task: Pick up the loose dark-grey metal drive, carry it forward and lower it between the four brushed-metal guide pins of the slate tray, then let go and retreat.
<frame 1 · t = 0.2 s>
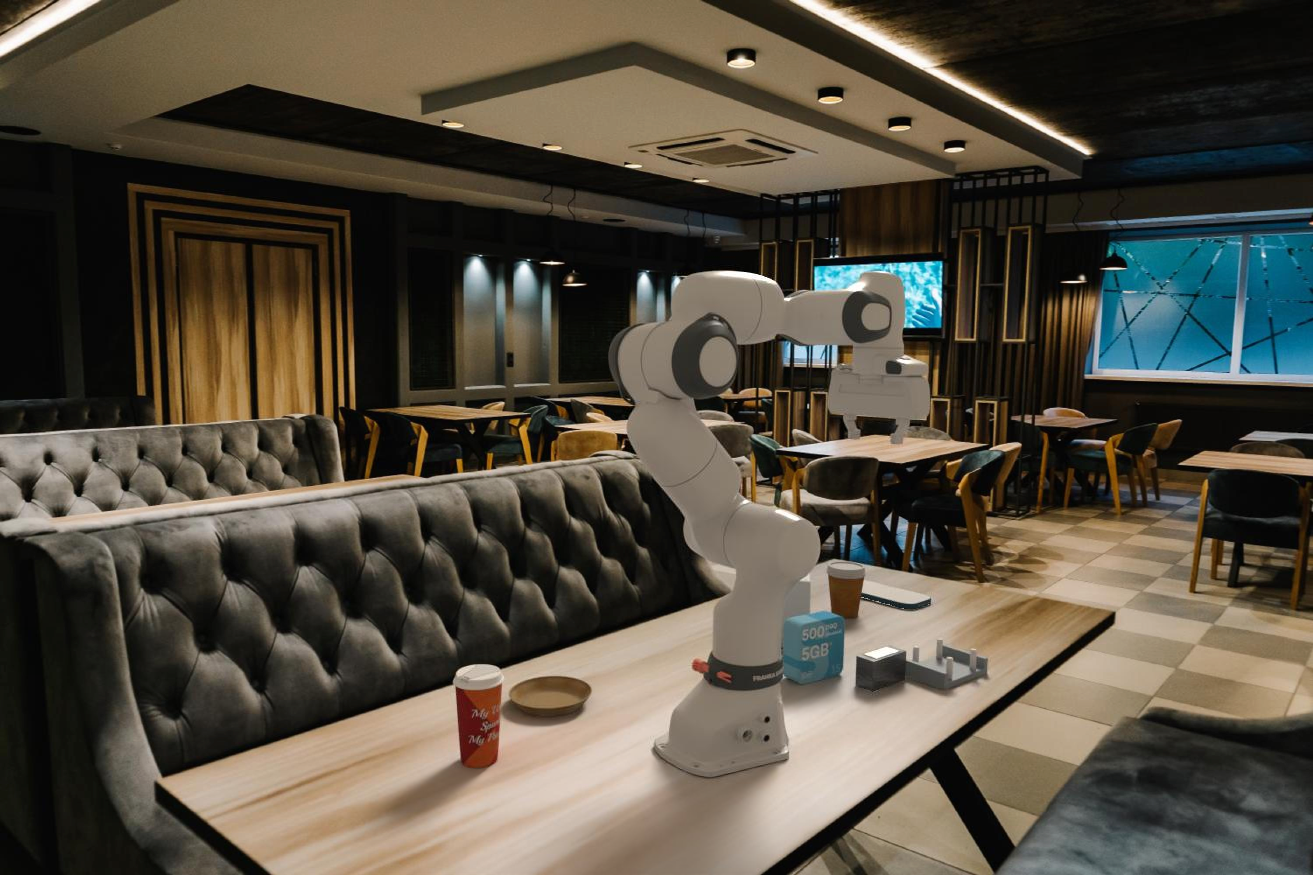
hand: (874, 441, 158), 47 cm above the table, tool pointing down, fingers open, 8 cm apart
supplement box: (788, 642, 192), on the table
tray: (943, 673, 174), on the table
white teal rounded slab: (882, 599, 228), on the table
drive: (880, 683, 169), on the table
plant saucer: (550, 705, 157), on the table
data package: (812, 677, 172), on the table
paper cup: (479, 760, 136), on the table
disposable coffee cup: (844, 614, 213), on the table
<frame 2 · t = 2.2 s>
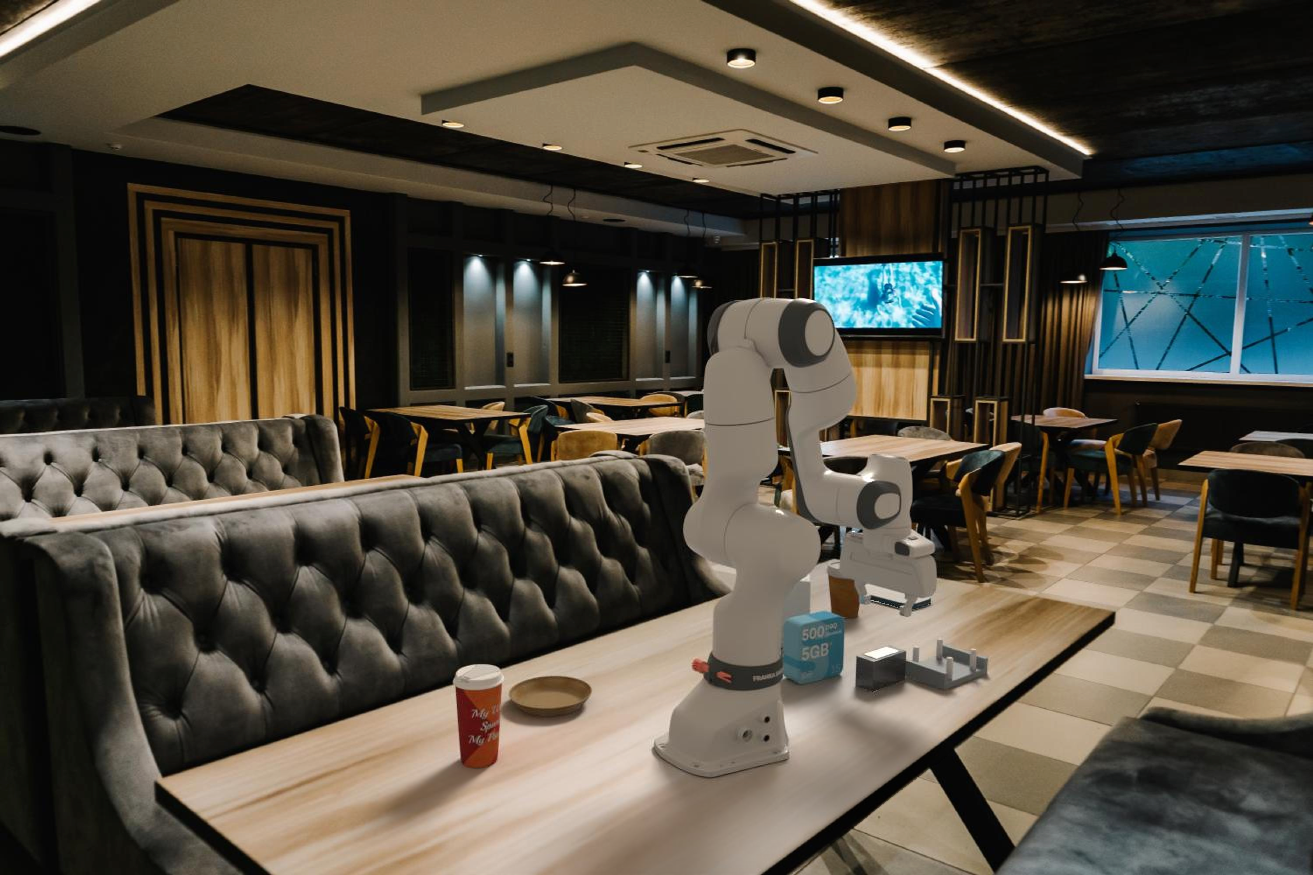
hand: (884, 609, 168), 14 cm above the table, tool pointing down, fingers open, 8 cm apart
nothing on the table moved.
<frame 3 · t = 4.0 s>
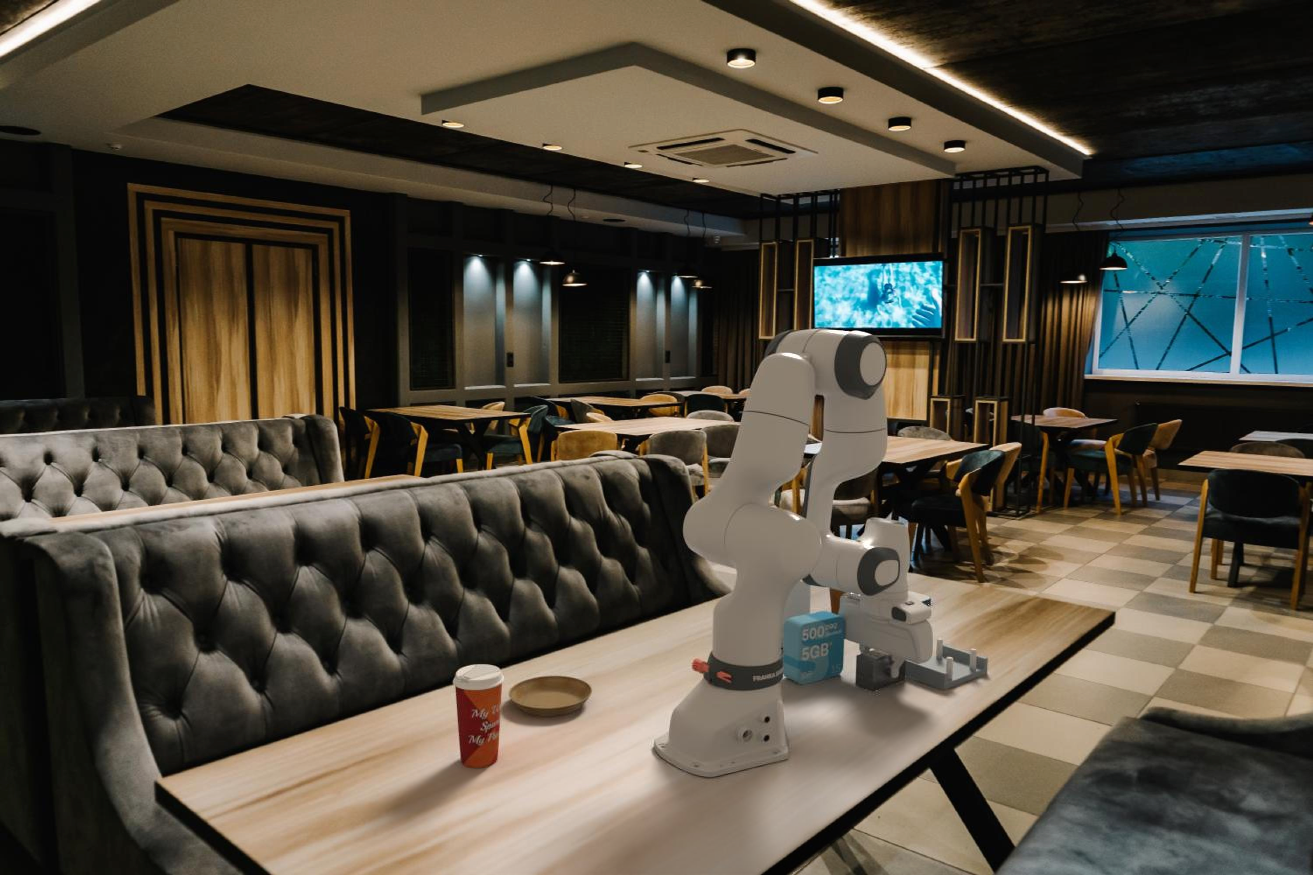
hand: (880, 672, 169), 2 cm above the table, tool pointing down, fingers closed on drive, 4 cm apart
drive: (880, 683, 169), on the table, touching gripper
everything else where it was.
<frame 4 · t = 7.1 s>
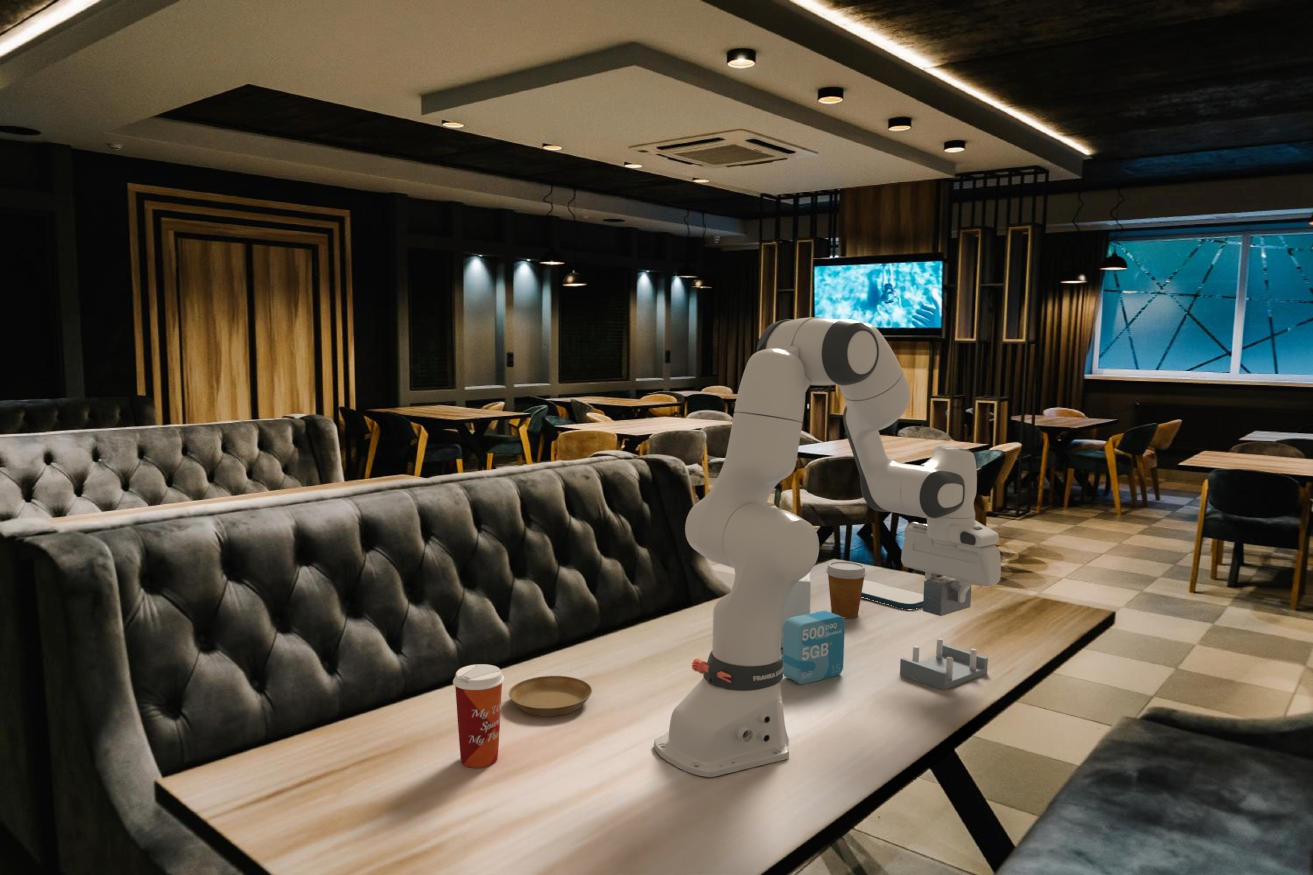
hand: (947, 598, 173), 15 cm above the table, tool pointing down, fingers closed on drive, 4 cm apart
drive: (946, 609, 173), point 13 cm above the table, touching gripper
everything else where it was.
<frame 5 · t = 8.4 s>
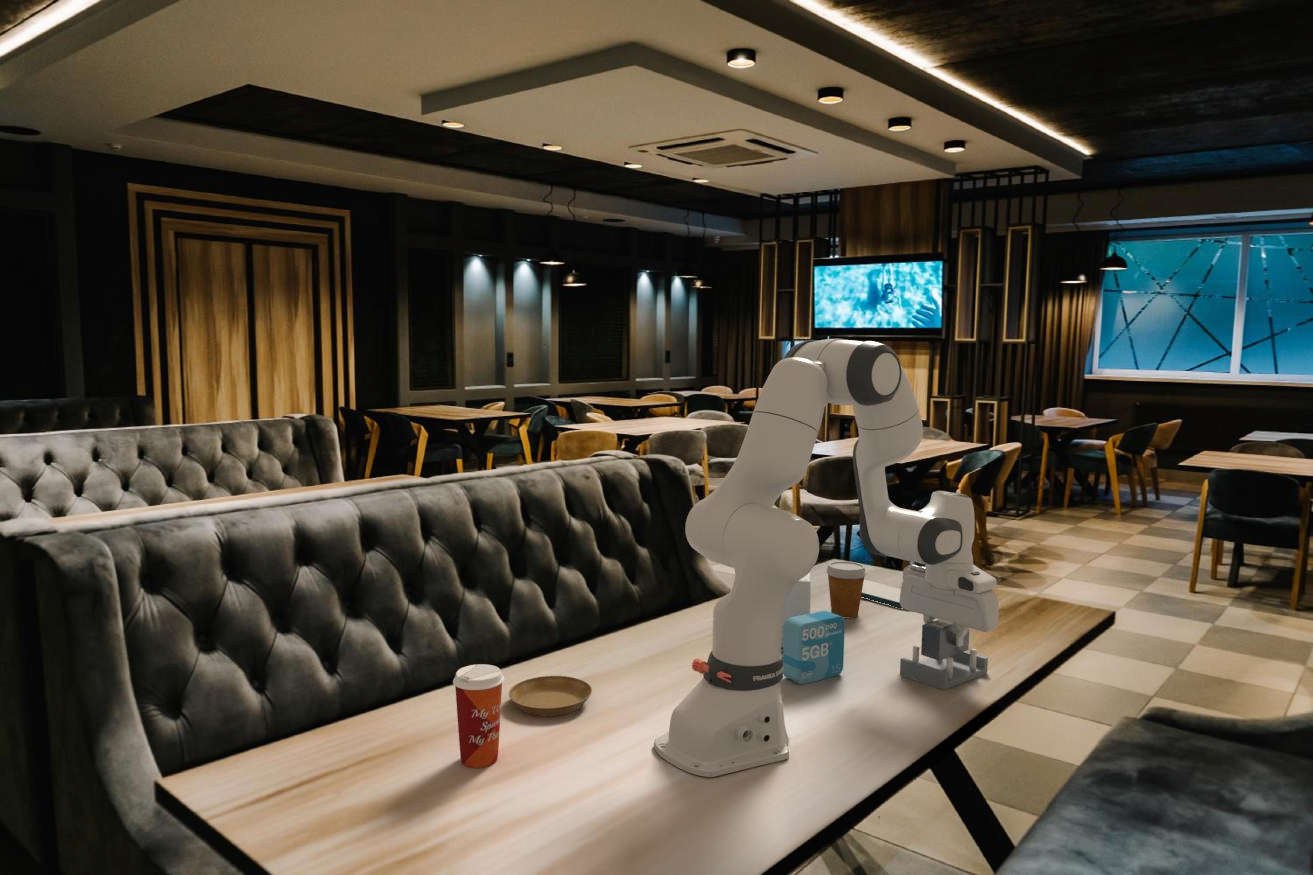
hand: (945, 641, 173), 7 cm above the table, tool pointing down, fingers closed on drive, 4 cm apart
drive: (944, 652, 174), point 4 cm above the table, touching gripper
everything else where it was.
when the fingers open (4 cm above the table, at t = 9.6 s): drive drops 1 cm, resting on tray.
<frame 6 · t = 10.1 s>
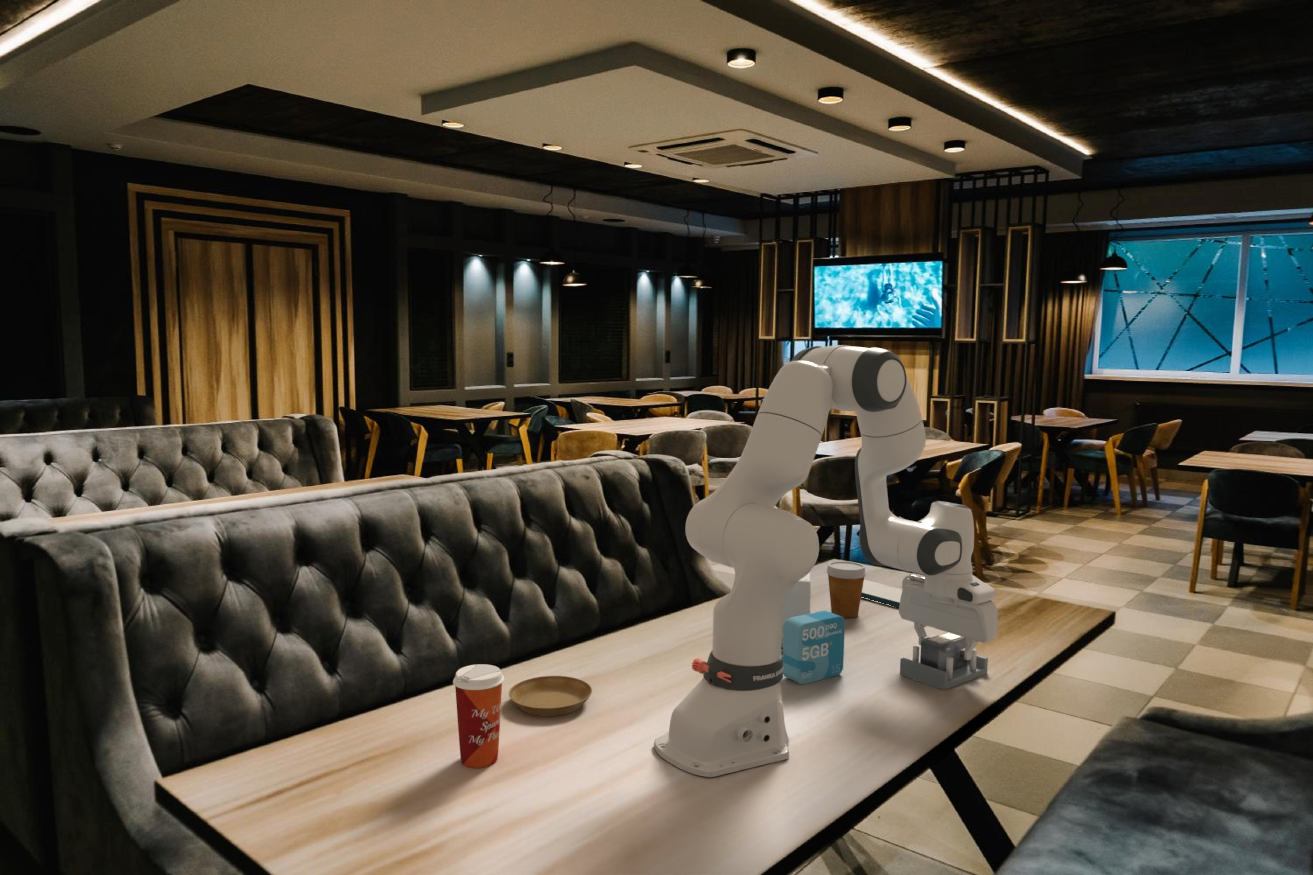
hand: (944, 651, 174), 4 cm above the table, tool pointing down, fingers open, 8 cm apart
drive: (943, 667, 174), point 1 cm above the table, touching tray
everything else where it was.
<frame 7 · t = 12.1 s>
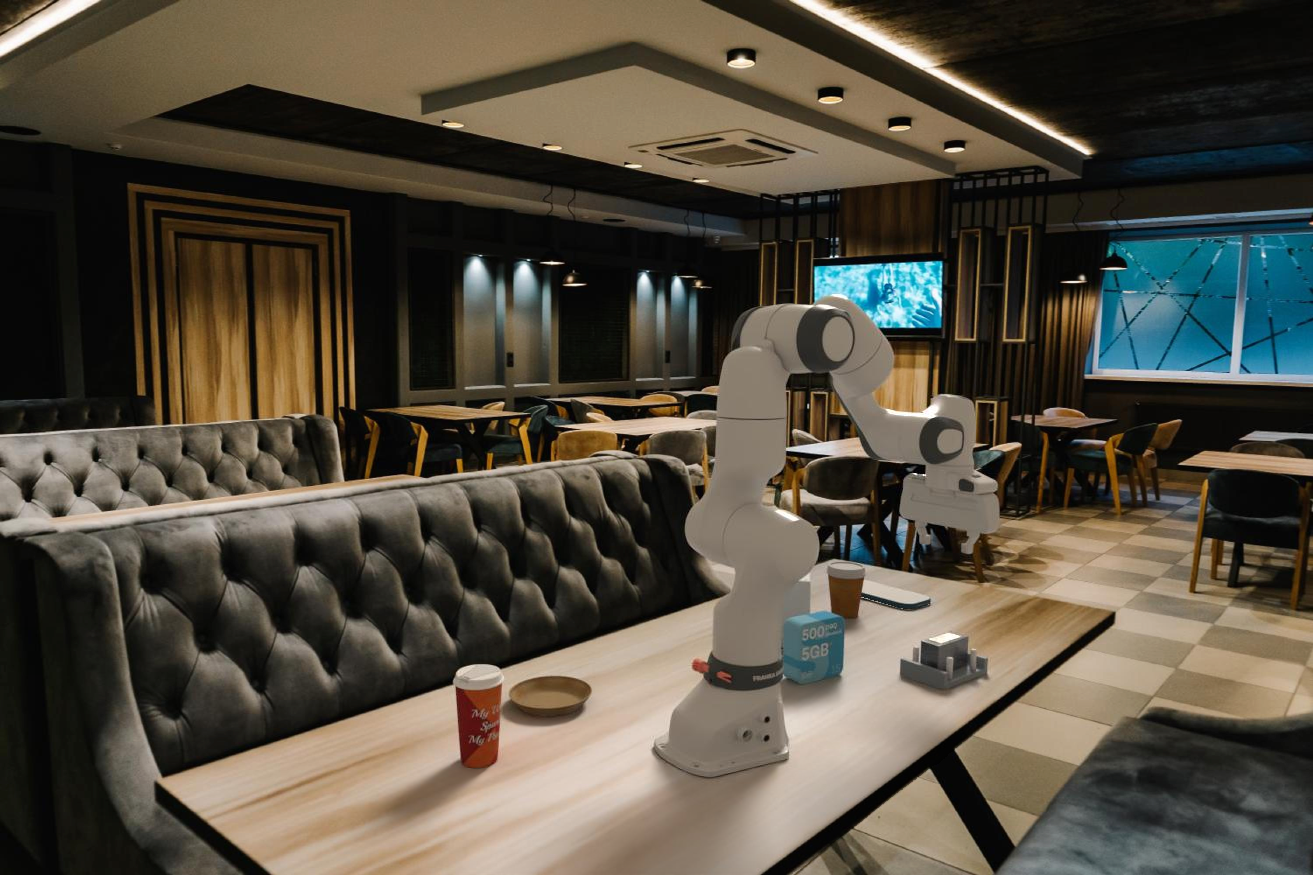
hand: (945, 548, 172), 25 cm above the table, tool pointing down, fingers open, 8 cm apart
nothing on the table moved.
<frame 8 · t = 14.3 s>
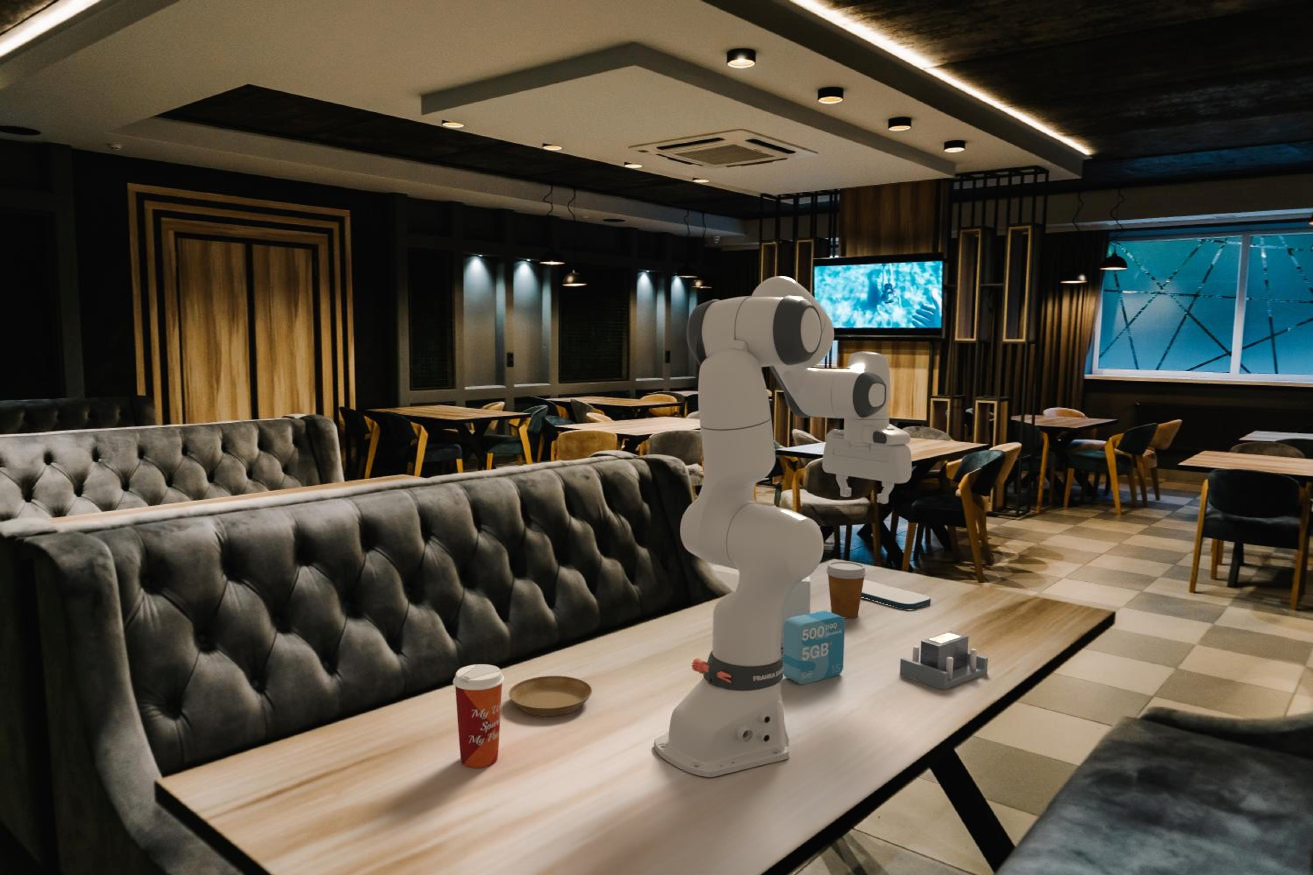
hand: (863, 499, 180), 33 cm above the table, tool pointing down, fingers open, 8 cm apart
nothing on the table moved.
at the end: drive 0.1 cm off-centre on the tray, point 1.2 cm above the tray's base; drive tilted 0°; the gripper is holding nothing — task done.
